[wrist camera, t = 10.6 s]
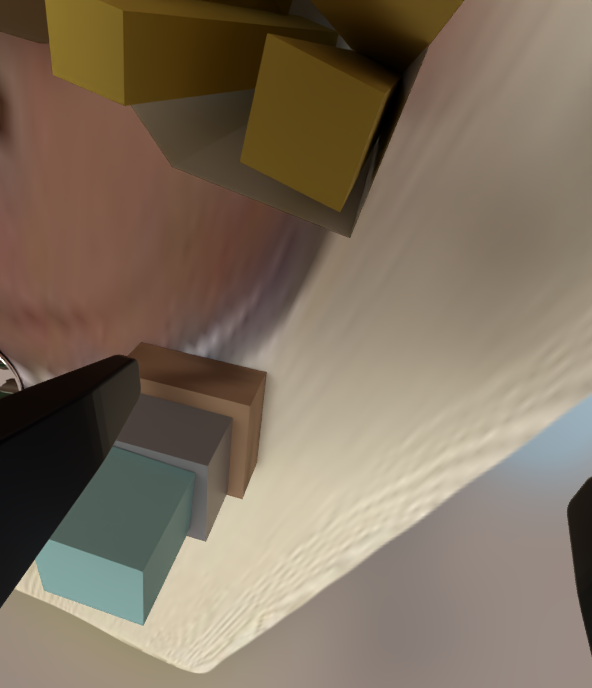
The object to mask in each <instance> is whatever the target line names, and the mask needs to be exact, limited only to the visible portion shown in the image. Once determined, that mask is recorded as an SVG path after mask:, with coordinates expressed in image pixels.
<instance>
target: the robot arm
mask: <svg viewBox="0 0 592 688" xmlns="http://www.w3.org/2000/svg"><path fill="white" fill-rule="evenodd" d="M140 394H141V382H140V371H139V363H138V361H137V360H136V359H135V358H132V357H128V356H124V355H114V356H111V357H109V358H106V359H103V360H101V361H98V362H95V363H93V364H90V365H87V366H85V367H82V368H79V369H76V370H74V371H71V372H68V373H66V374H63V375H60V376H58V377H55V378H52V379H50V380H47V381H44V382H42V383H39V384H36V385H34V386H31V387H28V388H26V389H23V390H20V391H18V392H15V393H12V394H10V395H7V396H4V397H2V398H0V608H1V607H2V605H3V604H4V602H5V601H6V599H7V598H8V597H9V595H10V594H11V593H12V591H13V590H14V588H15V587H16V585H17V584H18V583H19V581H20V580H21V578H22V577H23V576H24V574H25V573H26V571H27V570H28V569H29V567H30V566H31V564H32V563H33V561H34V560H35V559H36V557H37V556H38V554H39V553H40V552H41V550H42V549H43V547H44V546H45V544H46V543H47V542H48V540H49V539H50V537H51V536H52V535H53V533H54V532H55V530H56V529H57V527H58V526H59V525H60V523H61V522H62V520H63V519H64V518H65V516H66V515H67V513H68V512H69V510H70V509H71V508H72V506H73V505H74V503H75V502H76V501H77V499H78V498H79V496H80V495H81V494H82V492H83V491H84V489H85V488H86V486H87V485H88V484H89V482H90V481H91V479H92V478H93V477H94V475H95V474H96V472H97V471H98V469H99V468H100V466H101V465H102V463H103V462H104V460H105V459H106V457H107V455H108V454H109V452H110V450H111V449H112V447H113V445H114V443H115V441H116V440H117V438H118V436H119V434H120V432H121V430H122V429H123V427H124V425H125V423H126V421H127V420H128V418H129V416H130V414H131V412H132V411H133V409H134V407H135V405H136V403H137V402H138V400H139V397H140ZM567 518H568V526H569V534H570V542H571V550H572V557H573V565H574V573H575V581H576V587H577V594H578V598H579V604H580V608H581V613H582V617H583V621H584V626H585V630H586V634H587V638H588V642H589V646H590V651H591V655H592V477H590V478H588V479H587V481H586V482H585V483H584V484H583V486H582V487H581V488H580V490H579V491H578V492H577V493H576V494H575V495H574V497H573V498H572V499H571V501H570V502H569V505H568V508H567Z"/></svg>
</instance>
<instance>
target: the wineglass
mask: <svg viewBox="0 0 592 688" xmlns="http://www.w3.org/2000/svg"><path fill="white" fill-rule="evenodd" d="M20 390H23V389H22V384H21V382H20V379H19V377H18V375H17V373H16V372H15V370H14V368H13V367H12V366H11V364H10V363H9V362H8V361H7V359H6V358H5V357H4V356H3V355H2V354H1V353H0V398H2V397H4V396H7V395H10V394H12V393H15V392H18V391H20Z"/></svg>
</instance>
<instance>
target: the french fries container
mask: <svg viewBox="0 0 592 688" xmlns="http://www.w3.org/2000/svg"><path fill="white" fill-rule="evenodd" d="M463 1H464V0H45V5H46V15H47V24H48V34H49V43H50V53H51V62H52V72H53V75H54V76H57V77H59V78H61V79H64V80H66V81H68V82H71V83H73V84H75V85H78V86H80V87H82V88H84V89H87V90H89V91H91V92H94V93H96V94H98V95H101V96H103V97H105V98H108V99H110V100H112V101H115V102H117V103H119V104H122V105H124V106H126V105H131V106H132V108H133V109H134V111H135V112H136V114H137V115H138V117H139V118H140V120H141V121H142V123H143V124H144V125H145V127H146V128H147V130H148V131H149V133H150V134H151V136H152V137H153V139H154V140H155V142H156V143H157V145H158V146H159V148H160V149H161V151H162V152H163V154H164V155H165V157H166V158H167V160H168V161H169V163H170V164H171V166H172V167H174V168H176V169H179V170H181V171H184V172H186V173H189V174H191V175H194V176H196V177H199V178H201V179H204V180H206V181H209V182H211V183H214V184H216V185H219V186H221V187H224V188H226V189H229V190H231V191H234V192H236V193H239V194H241V195H244V196H246V197H249V198H251V199H254V200H256V201H259V202H261V203H264V204H266V205H269V206H271V207H274V208H276V209H279V210H281V211H284V212H286V213H289V214H291V215H294V216H296V217H299V218H301V219H304V220H306V221H309V222H311V223H314V224H316V225H319V226H321V227H324V228H326V229H329V230H331V231H334V232H336V233H339V234H341V235H344V236H346V237H349V238H350V237H351V234H352V232H353V229H354V227H355V224H356V222H357V220H358V217H359V215H360V212H361V210H362V207H363V205H364V203H365V200H366V198H367V195H368V193H369V190H370V188H371V185H372V183H373V181H374V178H375V176H376V173H377V171H378V168H379V166H380V164H381V161H382V159H383V156H384V154H385V151H386V149H387V147H388V144H389V142H390V139H391V137H392V134H393V132H394V130H395V127H396V125H397V122H398V120H399V117H400V115H401V113H402V110H403V108H404V105H405V103H406V100H407V98H408V96H409V93H410V91H411V88H412V86H413V83H414V81H415V78H416V76H417V74H418V71H419V69H420V66H421V64H422V61H423V59H424V57H425V54H426V52H427V49H428V47H429V45H430V44H431V42H432V41H433V40H434V39H435V37H436V36H437V35H438V33H439V32H440V31H441V30H442V28H443V27H444V26H445V24H446V23H447V22H448V21H449V19H450V18H451V17H452V15H453V14H454V13H455V12H456V10H457V9H458V8H459V6H460V5H461V4H462V3H463Z"/></svg>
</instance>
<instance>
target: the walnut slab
mask: <svg viewBox="0 0 592 688" xmlns="http://www.w3.org/2000/svg"><path fill="white" fill-rule="evenodd" d="M128 357H132V358H135V359H136V360H137V361H138V363H139V371H140V382H141V393H142V394H146V395H149V396H153V397H157V398H161V399H165V400H168V401H172V402H176V403H180V404H183V405H187V406H191V407H195V408H199V409H202V410H206V411H210V412H214V413H218V414H221V415H225V416H229V417H233V421H232V436H231V451H230V466H229V481H228V492H227V494H226V495H230V496H233V497H237V498H240V499H243V496H244V494H245V491H246V489H247V486H248V483H249V481H250V478H251V476H252V473H253V471H254V468H255V466H256V463H257V456H258V446H259V437H260V428H261V418H262V409H263V400H264V390H265V381H266V372H262V371H258V370H254V369H250V368H246V367H242V366H238V365H233V364H229V363H225V362H221V361H217V360H213V359H208V358H204V357H200V356H196V355H192V354H188V353H183V352H179V351H175V350H171V349H167V348H163V347H158V346H154V345H150V344H146V343H142V342H141V343H140V344H139V345H138V346H137V347H136V348H135V349H134V350H133V351H132V352H131V353H130V354H129V355H128Z"/></svg>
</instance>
